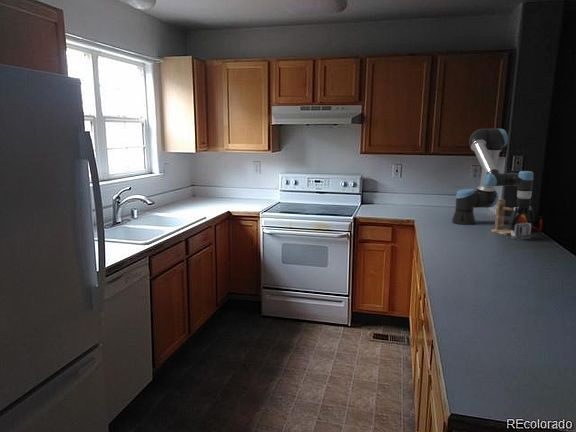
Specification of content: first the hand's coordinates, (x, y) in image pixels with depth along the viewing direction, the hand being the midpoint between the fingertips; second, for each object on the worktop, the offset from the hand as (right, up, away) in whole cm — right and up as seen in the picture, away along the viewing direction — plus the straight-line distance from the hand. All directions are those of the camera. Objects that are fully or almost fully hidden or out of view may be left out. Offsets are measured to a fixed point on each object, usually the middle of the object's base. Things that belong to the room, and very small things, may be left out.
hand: (520, 234), depth 254 cm
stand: (-1, +1, +15) cm, 15 cm away
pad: (0, -2, 0) cm, 2 cm away
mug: (+16, +2, +21) cm, 27 cm away
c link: (0, -1, 0) cm, 1 cm away
